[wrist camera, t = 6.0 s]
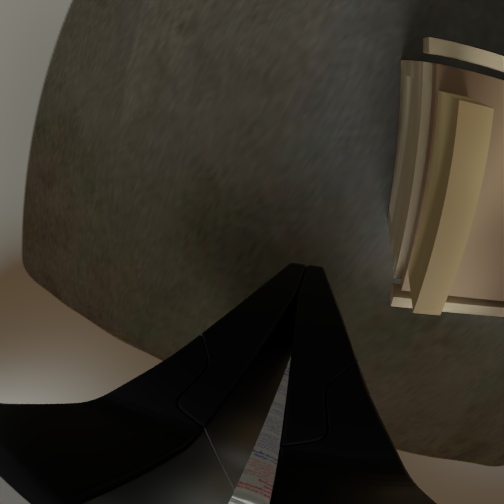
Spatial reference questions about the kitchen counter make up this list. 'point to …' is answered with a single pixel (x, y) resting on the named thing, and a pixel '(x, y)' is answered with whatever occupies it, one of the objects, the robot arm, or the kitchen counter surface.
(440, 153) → the lid
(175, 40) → the kitchen counter surface
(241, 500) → the beverage can
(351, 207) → the kitchen counter surface
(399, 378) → the kitchen counter surface
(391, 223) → the box
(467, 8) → the kitchen counter surface
